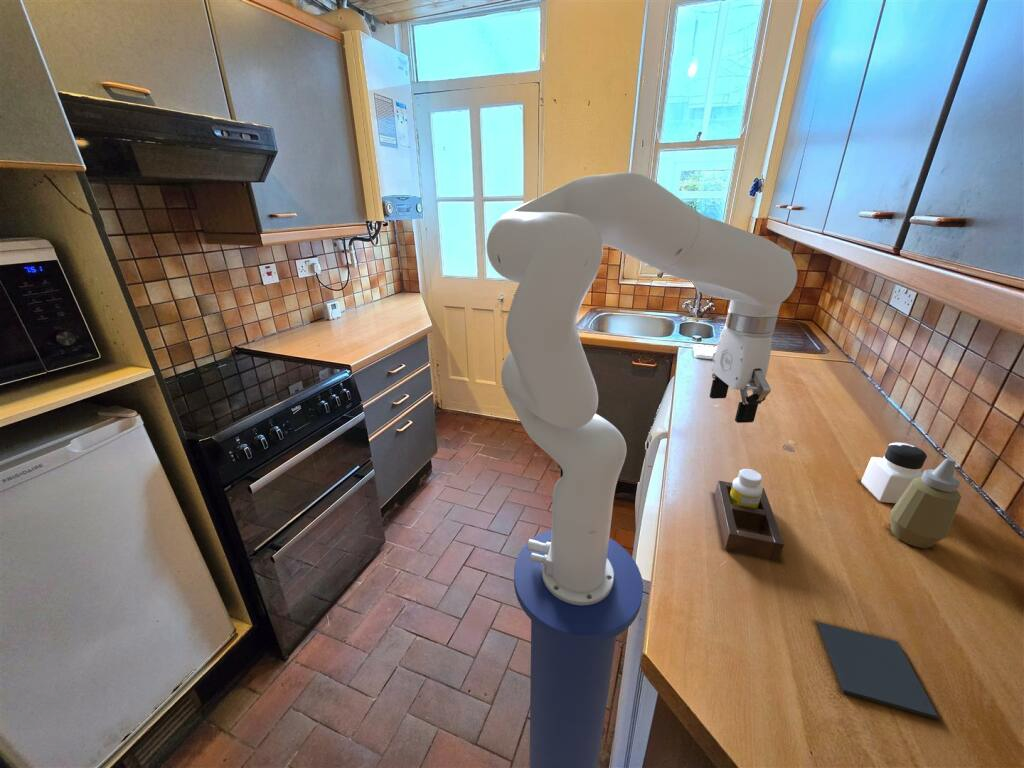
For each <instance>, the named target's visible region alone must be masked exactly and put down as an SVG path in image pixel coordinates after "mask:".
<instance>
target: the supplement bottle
mask: <svg viewBox="0 0 1024 768" xmlns="http://www.w3.org/2000/svg"><path fill="white" fill-rule="evenodd" d="M762 479H763V477H762V475H761V473H760V472H758V471H756V470H754V469H751V468H742V469H740V470H739V472H738V475H737V477H735V478H734V479H733V481H732V482H731V483H732V487H731V491H730V495H729V498H730V503H731V504H734V505H740V506H745V507H751V508H756V509H757V508H758V505H759V502H760V498H761V495H762V491H763V488H764V487H763V486H762V484H761V483H762Z"/></svg>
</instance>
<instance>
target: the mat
mask: <svg viewBox="0 0 1024 768" xmlns="http://www.w3.org/2000/svg"><path fill="white" fill-rule="evenodd" d="M817 627H818V629H819V632H820V635H821V638H822V640H823V643H824V646H825V649H826V651H827V654H828V656H829V659H830V662H831V664H832V667H833V669H834V673H835V675H836V677H837V681H838V683H839V686H840V688H841V691H842V693H843V694H846V695H850V696H854V697H856V698H860V699H864V700H868V701H871V702H875V703H878V704H882V705H884V706H888V707H892V708H896V709H899V710H902V711H907V712H909V713H913V714H917V715H920V716H923V717H926V718H930V719H934V720H937V719H938V718H939V715H938V714H937V711H936V710H935V707H934V706H933V704H932V702H931V700H930V699H929V696H928V694H927V693H926V691H925V689H924V687H923V686H922V683H921V681H920V680H919V678H918V676H917V674H916V673H915V671H914V669H913V667H912V665H911V663H910V661H909V660H908V658H907V655H906V654H905V652H904V650H903V649H902V647H901V645H900V643H899V641H896V640H893V639H888V638H884V637H880V636H877V635H872V634H868V633H864V632H859V631H856V630H852V629H848V628H843V627H839V626H836V625H832V624H828V623H824V622H817Z"/></svg>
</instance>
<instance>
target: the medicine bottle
mask: <svg viewBox="0 0 1024 768" xmlns="http://www.w3.org/2000/svg"><path fill="white" fill-rule="evenodd" d="M927 458H928V456H927V453H926V452H925V451H924V450H922V449H921V448H919V447H917V446H915V445H913V444H909V443H906V442H891V443H889V444H888V446H887V448H886V450H885V453H884V455H883V457H878V456H871V457H870V459H869V461H868V464H867V467H866V469H865V471H864V473H863V475H862V478H861V481H860V482H861V484H862V485H863V486H864V487H865V488H866V489H867V490H868V491H869V492H870V493H871V495H873V496H874V497H875V498H876V499H877V501H878V502H879V503H885V504H886V503H887V504H889V503H890V504H896V503H897V501H898V500H899V498H900V497H901V496H902V494H903V493H904V491H905V490H906V488H907V487H908V485H909V484H910V483H911V481H912V480H913V479H914V478H919V477H922V475H923V473H924V472H923V471H921V470H922V469H923V466H924V464H925V462H926V460H927Z"/></svg>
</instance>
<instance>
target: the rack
mask: <svg viewBox="0 0 1024 768" xmlns="http://www.w3.org/2000/svg"><path fill="white" fill-rule="evenodd" d="M732 483H733V482H729V481H725V480H717V483H716V487H715V491H714V498H715V504H716V511H717V516H718V521H719V525H720V531H721V536H722V541H723V547H724V550H726V551H729V552H734V553H739V554H745V555H750V556H754V557H758V558H763V559H768V560H772V561H776V562H779V561H780V558H781V557H782V554H783V550H784V547H785V541H784V540H783V537H782V534H781V530H780V529H779V525H778V524H777V520H776V518H775V517H776V516H775V515H774V512H773V510H772V507H771V504H770V501H769V498H768V496H767V493H766V489H765V488H764V487H762V488H763V491H762V495H761V498H760V502H759V505H758V508H757V509H756V508H751V507H745V506H740V505H734V504H731V503H730V498H729V495H730V491H731V487H732ZM737 527H741V528H746V529H752V530H757V531H760V533H761V534H760V533H757V532H756V533H755V532H750V531H745V530H741V529H738V528H737Z"/></svg>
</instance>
